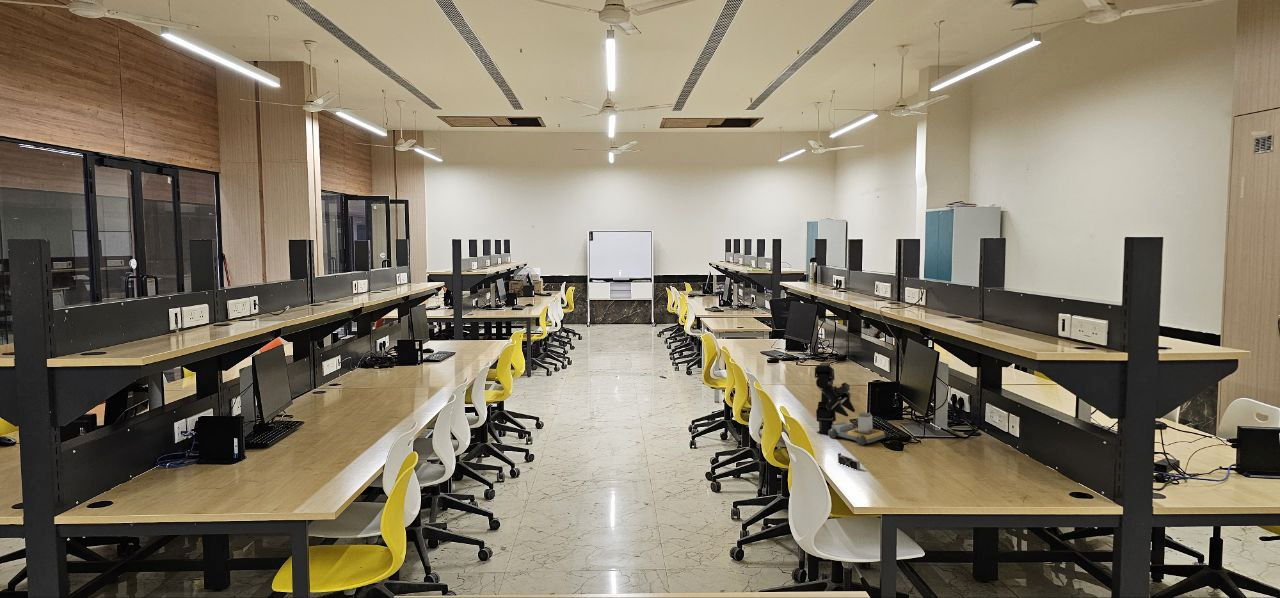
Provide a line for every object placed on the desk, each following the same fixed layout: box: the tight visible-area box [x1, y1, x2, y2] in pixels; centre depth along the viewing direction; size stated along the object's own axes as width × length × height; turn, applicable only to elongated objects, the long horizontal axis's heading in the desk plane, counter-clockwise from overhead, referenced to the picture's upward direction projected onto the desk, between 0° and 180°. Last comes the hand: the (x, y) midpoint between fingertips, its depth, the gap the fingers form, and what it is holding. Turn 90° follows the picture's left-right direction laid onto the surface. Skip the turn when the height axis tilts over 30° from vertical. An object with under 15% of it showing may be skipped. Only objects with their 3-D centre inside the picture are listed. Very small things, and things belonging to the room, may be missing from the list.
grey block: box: [857, 412, 874, 435], centre depth 327 cm, size 5×5×10 cm
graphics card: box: [837, 452, 861, 471], centre depth 292 cm, size 12×3×5 cm, turn 26°
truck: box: [827, 421, 887, 447], centre depth 332 cm, size 23×15×6 cm, turn 33°
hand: (851, 413), depth 331 cm, fingers open, 9 cm apart
